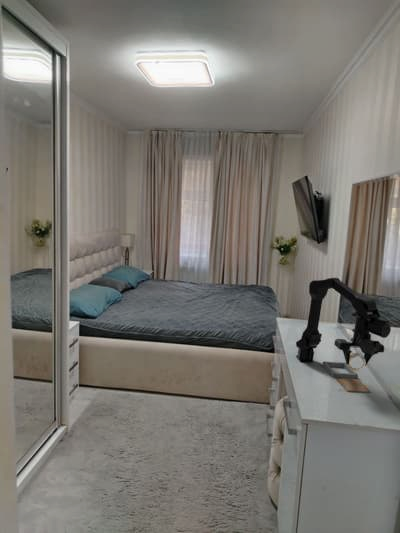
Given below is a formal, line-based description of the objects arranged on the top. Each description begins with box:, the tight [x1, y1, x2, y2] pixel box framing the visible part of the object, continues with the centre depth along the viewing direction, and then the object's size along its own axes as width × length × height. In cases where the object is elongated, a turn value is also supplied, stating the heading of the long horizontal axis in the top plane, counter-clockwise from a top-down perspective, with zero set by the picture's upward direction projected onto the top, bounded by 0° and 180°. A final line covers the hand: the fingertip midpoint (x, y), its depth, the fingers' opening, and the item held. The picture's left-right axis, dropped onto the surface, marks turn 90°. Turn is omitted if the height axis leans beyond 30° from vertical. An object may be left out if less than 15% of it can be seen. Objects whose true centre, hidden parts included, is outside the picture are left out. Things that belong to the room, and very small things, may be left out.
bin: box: [322, 361, 359, 380], centre depth 166 cm, size 11×13×2 cm
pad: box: [335, 378, 372, 394], centre depth 153 cm, size 10×10×1 cm
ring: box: [348, 351, 367, 372], centre depth 152 cm, size 7×3×8 cm, turn 74°
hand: (356, 365), depth 152 cm, fingers closed on ring, 7 cm apart
